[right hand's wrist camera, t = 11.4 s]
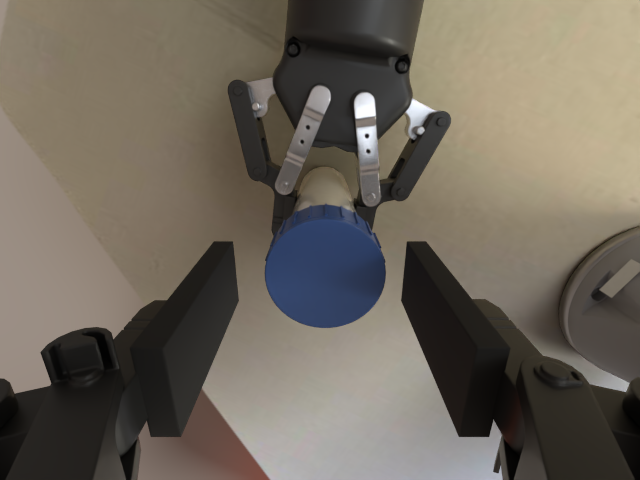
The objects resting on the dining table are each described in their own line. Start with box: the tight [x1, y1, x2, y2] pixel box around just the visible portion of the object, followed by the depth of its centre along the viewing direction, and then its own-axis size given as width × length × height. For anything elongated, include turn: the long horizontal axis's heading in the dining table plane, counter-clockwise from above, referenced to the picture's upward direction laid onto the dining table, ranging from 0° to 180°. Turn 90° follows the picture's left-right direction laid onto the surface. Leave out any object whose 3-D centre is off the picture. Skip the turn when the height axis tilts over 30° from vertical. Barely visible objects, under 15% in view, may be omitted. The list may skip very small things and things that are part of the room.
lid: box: [265, 203, 386, 328], centre depth 15 cm, size 5×5×2 cm
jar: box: [292, 167, 356, 215], centre depth 22 cm, size 4×4×16 cm
